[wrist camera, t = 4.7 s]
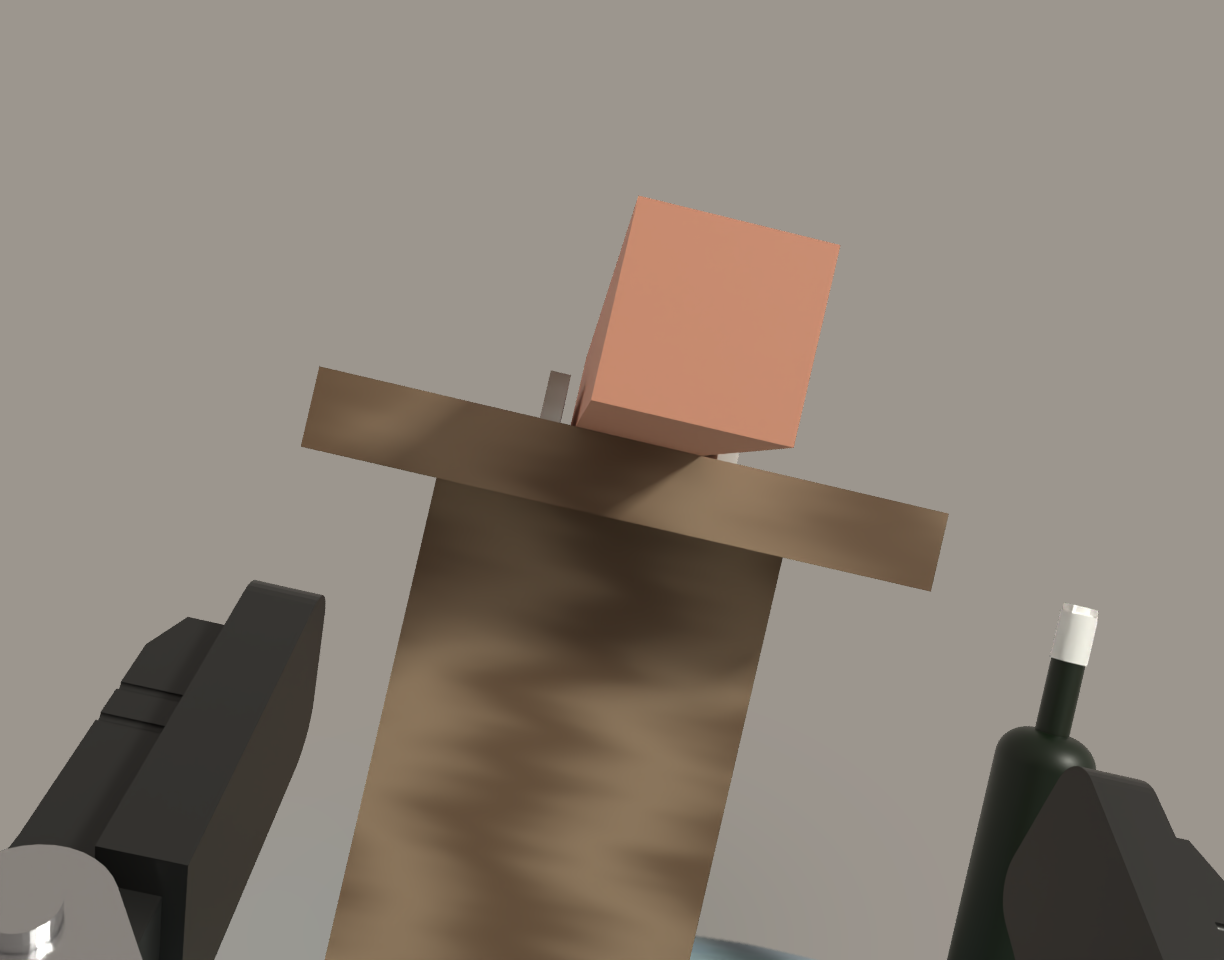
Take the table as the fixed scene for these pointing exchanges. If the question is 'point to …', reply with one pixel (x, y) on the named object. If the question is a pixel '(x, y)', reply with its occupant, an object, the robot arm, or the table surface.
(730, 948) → the table surface
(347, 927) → the wooden pedestal
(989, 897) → the wine bottle
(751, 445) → the stick
